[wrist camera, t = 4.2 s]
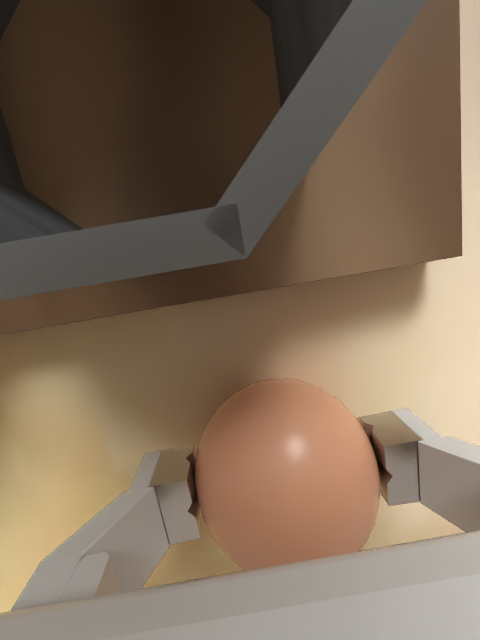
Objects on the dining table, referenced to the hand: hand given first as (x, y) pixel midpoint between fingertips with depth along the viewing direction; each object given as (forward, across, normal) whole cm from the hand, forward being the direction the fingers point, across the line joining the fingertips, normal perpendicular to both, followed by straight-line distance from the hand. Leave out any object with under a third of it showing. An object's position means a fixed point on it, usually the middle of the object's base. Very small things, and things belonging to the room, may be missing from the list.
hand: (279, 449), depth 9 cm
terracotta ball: (-1, 0, 0) cm, 1 cm away
